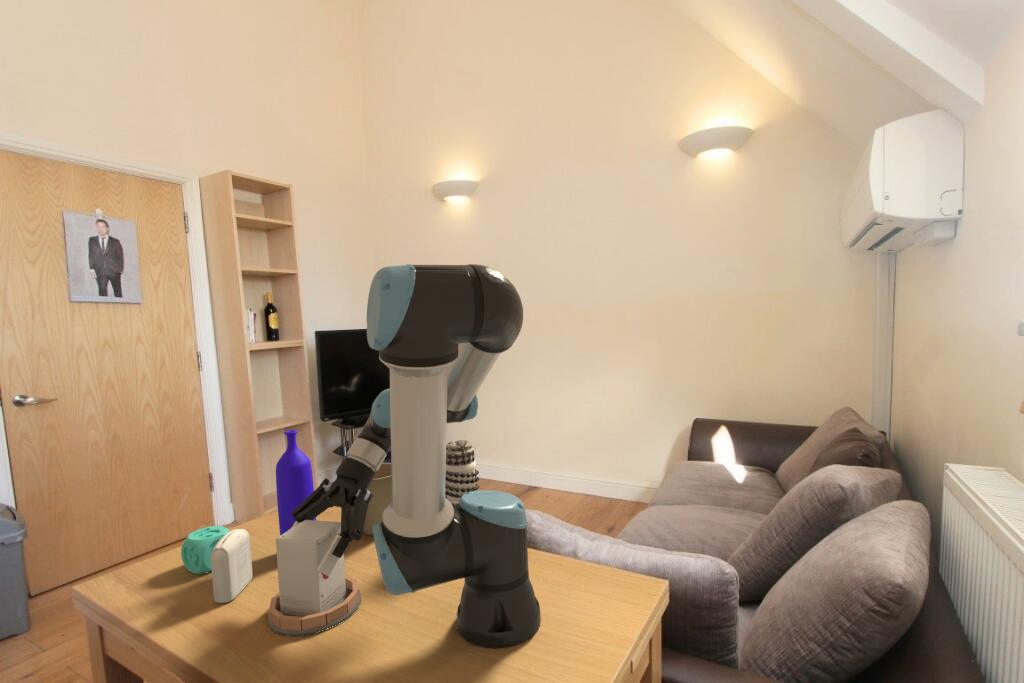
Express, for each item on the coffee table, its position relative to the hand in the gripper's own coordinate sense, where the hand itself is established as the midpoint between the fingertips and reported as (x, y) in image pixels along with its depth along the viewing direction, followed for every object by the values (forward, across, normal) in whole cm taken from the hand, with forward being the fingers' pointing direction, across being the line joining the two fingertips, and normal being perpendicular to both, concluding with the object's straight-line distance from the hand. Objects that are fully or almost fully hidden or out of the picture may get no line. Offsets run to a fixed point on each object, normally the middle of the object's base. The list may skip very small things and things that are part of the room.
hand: (301, 564), depth 97 cm
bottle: (-3, +25, -18) cm, 31 cm away
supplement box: (+5, 0, -8) cm, 10 cm away
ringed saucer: (+5, 0, -9) cm, 10 cm away
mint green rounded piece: (+7, +38, -7) cm, 40 cm away
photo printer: (+9, +22, -5) cm, 24 cm away
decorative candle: (-20, -7, -34) cm, 40 cm away
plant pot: (-16, +18, -31) cm, 39 cm away
